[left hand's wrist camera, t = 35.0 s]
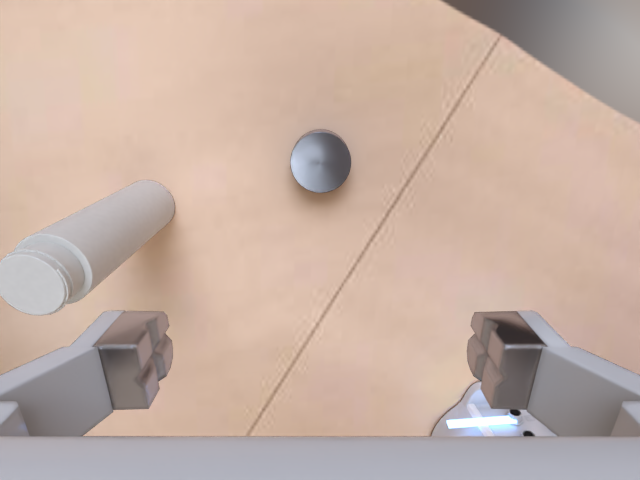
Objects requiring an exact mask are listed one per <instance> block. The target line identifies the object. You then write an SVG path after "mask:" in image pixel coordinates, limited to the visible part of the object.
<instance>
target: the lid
mask: <svg viewBox="0 0 640 480" xmlns="http://www.w3.org/2000/svg"><path fill="white" fill-rule="evenodd" d="M290 165H291V171H292V173H293V176H294V178H295V179H296V181H297V182H298V183H299V184H300V185H301V186H302V187H304V188H305V189H307V190H309V191H312V192H317V193H325V192H329V191H332V190H334V189H336V188H338V187H339V186H340V185H341V184H342V183H343V182H344V181H345V180H346V178H347V176H348V175H349V172H350V168H351V157H350V153H349V150H348V148H347V146H346V144H345V142H344V141H343V140H342V138H341V137H340V136H338V135H337V134H336V133H334V132H332V131H329V130H324V129H317V130H313V131H310V132H308V133H306V134H304V135H303V136H302V137H301V138H300V139H299V140H298V141H297V143H296V144H295V147H294V149H293V151H292V154H291V159H290Z"/></svg>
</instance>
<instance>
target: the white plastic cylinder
mask: <svg viewBox="0 0 640 480" xmlns="http://www.w3.org/2000/svg"><path fill="white" fill-rule="evenodd" d="M174 212H175V204H174V200H173V197H172V195H171V194H170V192H169V191H168V190H167V189H166V188H165V187H164V186H162V185H161V184H159V183H157V182H154V181H151V180H141V181H137V182H135V183H133V184H131V185H129V186H127V187H125V188H123V189H121V190H119V191H117V192H115V193H113V194H111V195H109V196H107V197H105V198H103V199H101V200H100V201H98V202H96V203H94V204H92V205H90V206H88V207H86V208H84V209H82V210H80V211H78V212H76V213H74V214H72V215H70V216H68V217H66V218H64V219H62V220H60V221H58V222H56V223H54V224H52V225H50V226H48V227H46V228H44V229H42V230H40V231H38V232H36V233H34V234H32V235H30V236H28V237H26V238H24V239H23V240H22V241H20V243H19V244H18V245H17V246H16V248H15V250H14V252H11V253H9V254H8V255H6V256H5V257H4V258H3V259H2V260H1V262H0V295H1V296H2V298H3V299H4V300H5V301H6V302H7V303H8V304H9V305H11V306H12V307H14V308H15V309H17V310H19V311H21V312H24V313H27V314H31V315H48V314H53V313H55V312H58V311H59V310H60V309H62V308H63V307H64V306H65V305H66V304H71V303H74V302H77V301H79V300H81V299H82V298H84V297H85V296H86V295H87V294H88V293H89V292H90V291H92V290H93V289H94V288H95V287H96V286H97V285H98V284H100V283H101V282H102V281H103V280H104V279H105V278H106V277H107V276H109V275H110V274H111V273H112V272H113V271H114V270H115V269H117V268H118V267H119V266H120V265H121V264H122V263H123V262H125V261H126V260H127V259H128V258H129V257H130V256H131V255H132V254H134V253H135V252H136V251H137V250H138V249H139V248H140V247H142V246H143V245H144V244H145V243H146V242H147V241H148V240H149V239H151V238H152V237H153V236H154V235H155V234H156V233H157V232H159V231H160V230H161V229H162V228H163V227H164V226H165V225H166V224H168V223H169V222H170V221H171V219H172V218H173V215H174Z"/></svg>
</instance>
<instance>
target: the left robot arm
mask: <svg viewBox="0 0 640 480" xmlns="http://www.w3.org/2000/svg"><path fill="white" fill-rule="evenodd" d="M168 327H169V322H168V317H167V314H166V313H165V312H160V311H105V312H103V313H102V314H101V315H100V316H99V317H98V318H97V319H96V320H95V321H94V322H93V323H92V324H91V325H90V326H89V327H88V328H87V329H86V330H85V331H84V332H83V333H82V334H81V335H80V336H79V337H78V338H77V339H76V340H75V341H74V342H73V343H72V344H71V345H70V346H69V347H61V348H59V349H57V350H55V351H53V352H50V353H48V354H46V355H44V356H42V357H39V358H37V359H35V360H33V361H30V362H28V363H26V364H24V365H22V366H19V367H17V368H15V369H13V370H10V371H8V372H6V373H4V374H2V375H0V480H640V375H638V374H636V373H634V372H632V371H629V370H627V369H625V368H623V367H621V366H618V365H616V364H614V363H612V362H609V361H607V360H605V359H603V358H601V357H598V356H596V355H594V354H592V353H590V352H587V351H585V350H583V349H581V348H579V347H571V346H570V345H569V344H568V343H567V342H566V341H565V340H564V339H563V338H562V337H561V336H560V335H559V334H558V333H557V332H556V331H555V330H554V329H553V328H552V327H551V326H550V325H549V324H548V323H547V322H546V321H545V320H544V319H543V318H542V317H541V316H540V315H539V314H538V313H537V312H535V311H532V310H530V311H501V312H475V313H474V315H473V317H472V321H471V327H472V329H473V331H474V332H475V334H474V335H473V336H472V337H471V338H470V339H469V340H468V346H467V359H468V364H469V367H470V370H471V372H472V374H473V376H474V377H476V378H477V379H479V380H480V381H482V382H477V383H474V384H473V385H471V386H470V388H469V389H468V390H467V392H466V393H465V395H464V397H463V398H462V400H461V402H460V403H459V404H457V405H456V406H455V407H454V408H452V409H451V410H450V411H449V412H447V413H446V414H445V415H444V416H443V417H442V418H441V419H440V420H439V422H438V423H437V425H436V426H435V428H434V430H433V432H432V435H431V436H83V435H84V434H86V433H87V432H88V431H90V430H91V429H92V428H93V427H95V426H96V425H97V424H98V423H100V422H101V421H102V420H103V419H105V418H106V417H107V416H108V415H110V414H111V413H112V412H113V410H125V409H149V407H150V406H151V404H152V402H153V400H154V398H155V396H156V395H157V393H158V391H159V389H160V388H159V383H158V381H160V380H161V379H163V378H164V377H166V376H167V374H168V372H169V370H170V368H171V363H172V359H173V345H172V340H171V339H170V338H169V337H168V336H167V335H166V334H165V332H166V331H167V329H168Z"/></svg>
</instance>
